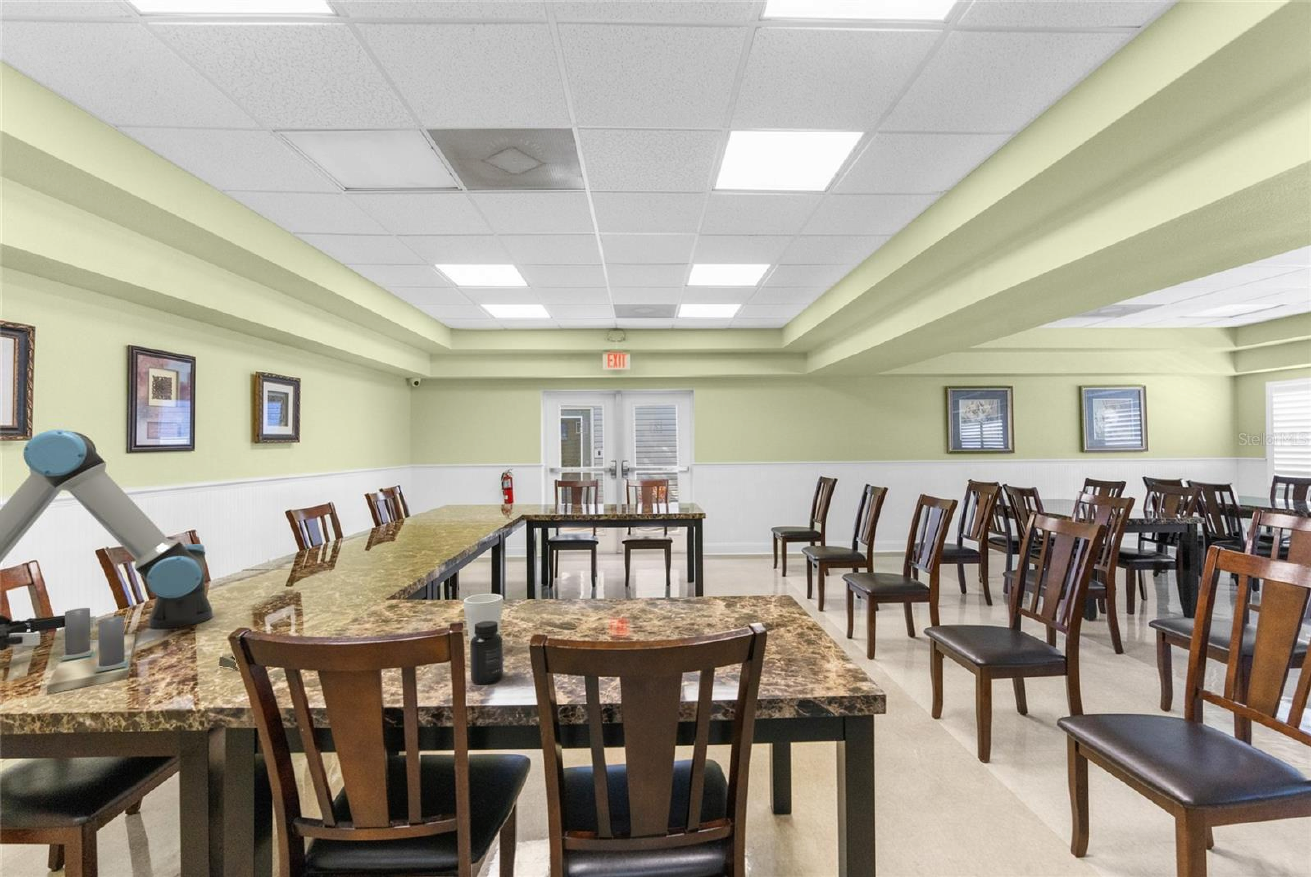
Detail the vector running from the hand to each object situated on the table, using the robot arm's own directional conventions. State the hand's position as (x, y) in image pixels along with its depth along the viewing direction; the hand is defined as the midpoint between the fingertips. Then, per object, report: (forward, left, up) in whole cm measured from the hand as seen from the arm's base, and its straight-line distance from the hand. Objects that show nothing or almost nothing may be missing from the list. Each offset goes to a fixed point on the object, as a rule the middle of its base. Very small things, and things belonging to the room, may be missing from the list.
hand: (67, 630), depth 145 cm
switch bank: (-5, +4, -9) cm, 11 cm away
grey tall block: (-9, +18, -7) cm, 21 cm away
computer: (-37, +27, -9) cm, 46 cm away
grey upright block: (-2, +1, -7) cm, 7 cm away
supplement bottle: (-73, +78, -9) cm, 107 cm away
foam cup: (-80, +60, -9) cm, 100 cm away
